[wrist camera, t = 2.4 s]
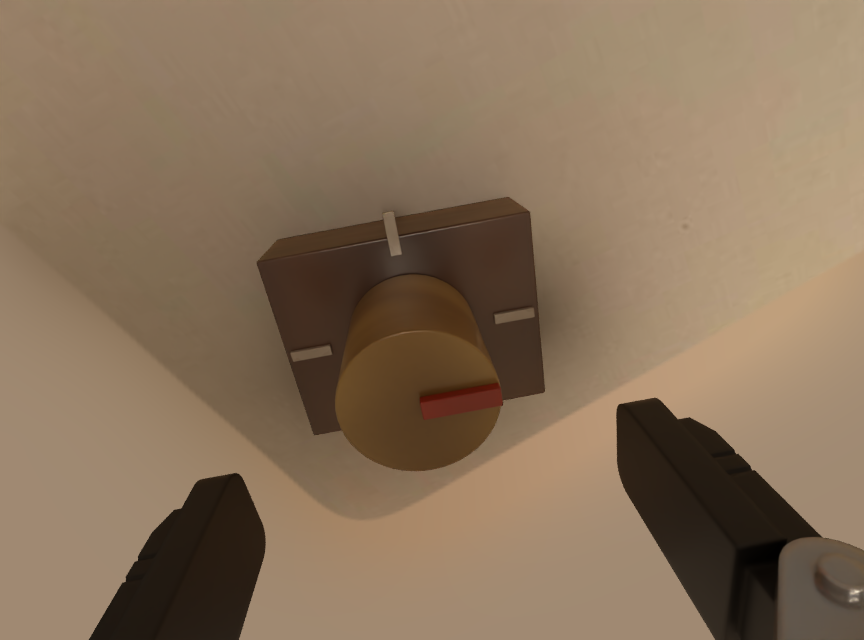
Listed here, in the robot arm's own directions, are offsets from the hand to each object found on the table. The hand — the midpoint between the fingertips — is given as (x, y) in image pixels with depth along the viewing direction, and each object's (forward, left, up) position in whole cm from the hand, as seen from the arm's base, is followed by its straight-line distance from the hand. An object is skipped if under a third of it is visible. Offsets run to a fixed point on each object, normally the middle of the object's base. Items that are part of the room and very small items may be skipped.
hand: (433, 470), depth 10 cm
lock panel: (0, 0, -10) cm, 10 cm away
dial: (0, 0, -7) cm, 7 cm away
